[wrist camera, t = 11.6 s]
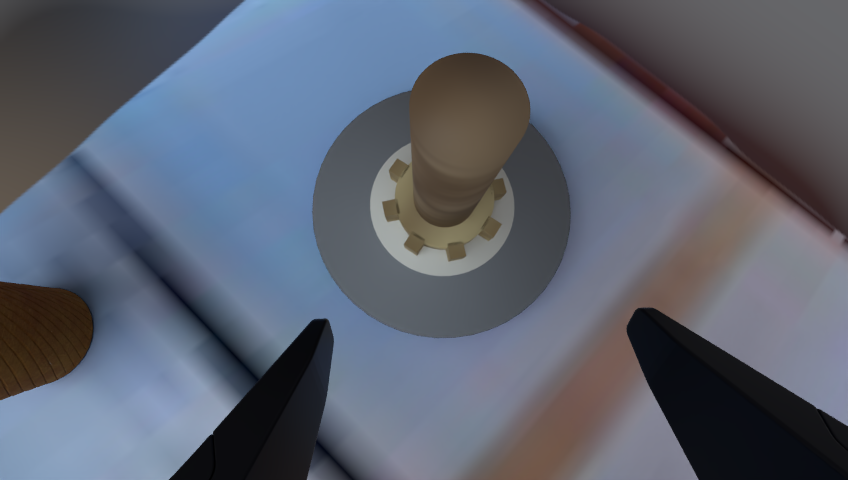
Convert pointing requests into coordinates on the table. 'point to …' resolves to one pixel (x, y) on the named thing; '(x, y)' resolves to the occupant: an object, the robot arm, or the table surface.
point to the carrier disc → (430, 270)
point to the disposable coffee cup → (40, 335)
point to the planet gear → (457, 152)
